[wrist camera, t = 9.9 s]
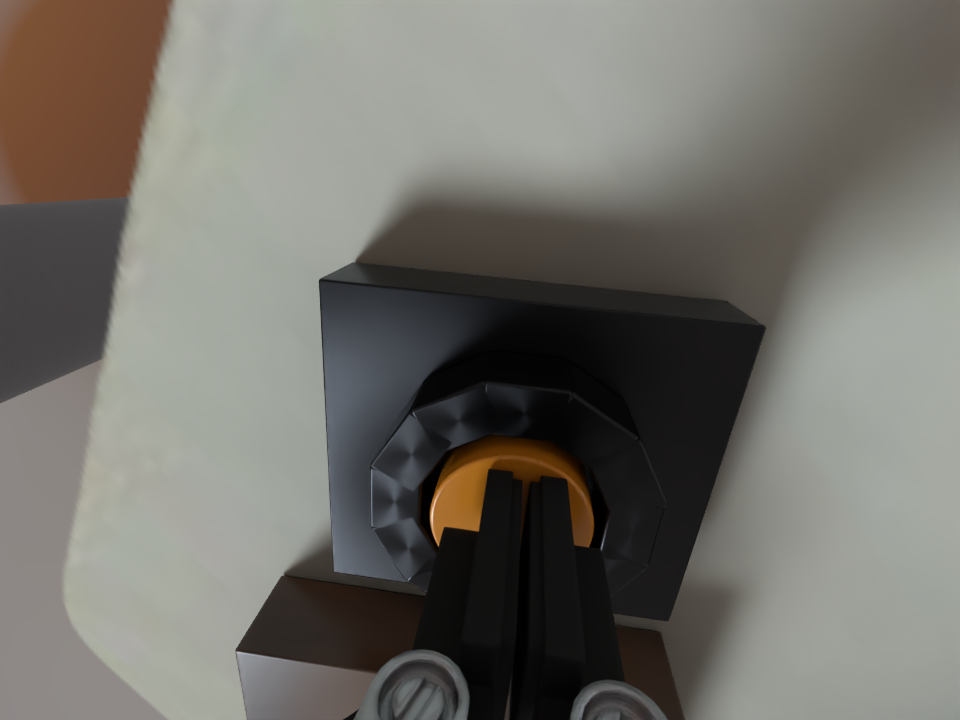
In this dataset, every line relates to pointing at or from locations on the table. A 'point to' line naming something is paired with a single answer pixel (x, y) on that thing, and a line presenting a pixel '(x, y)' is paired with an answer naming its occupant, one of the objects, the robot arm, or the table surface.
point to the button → (528, 462)
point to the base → (372, 651)
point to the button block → (527, 410)
